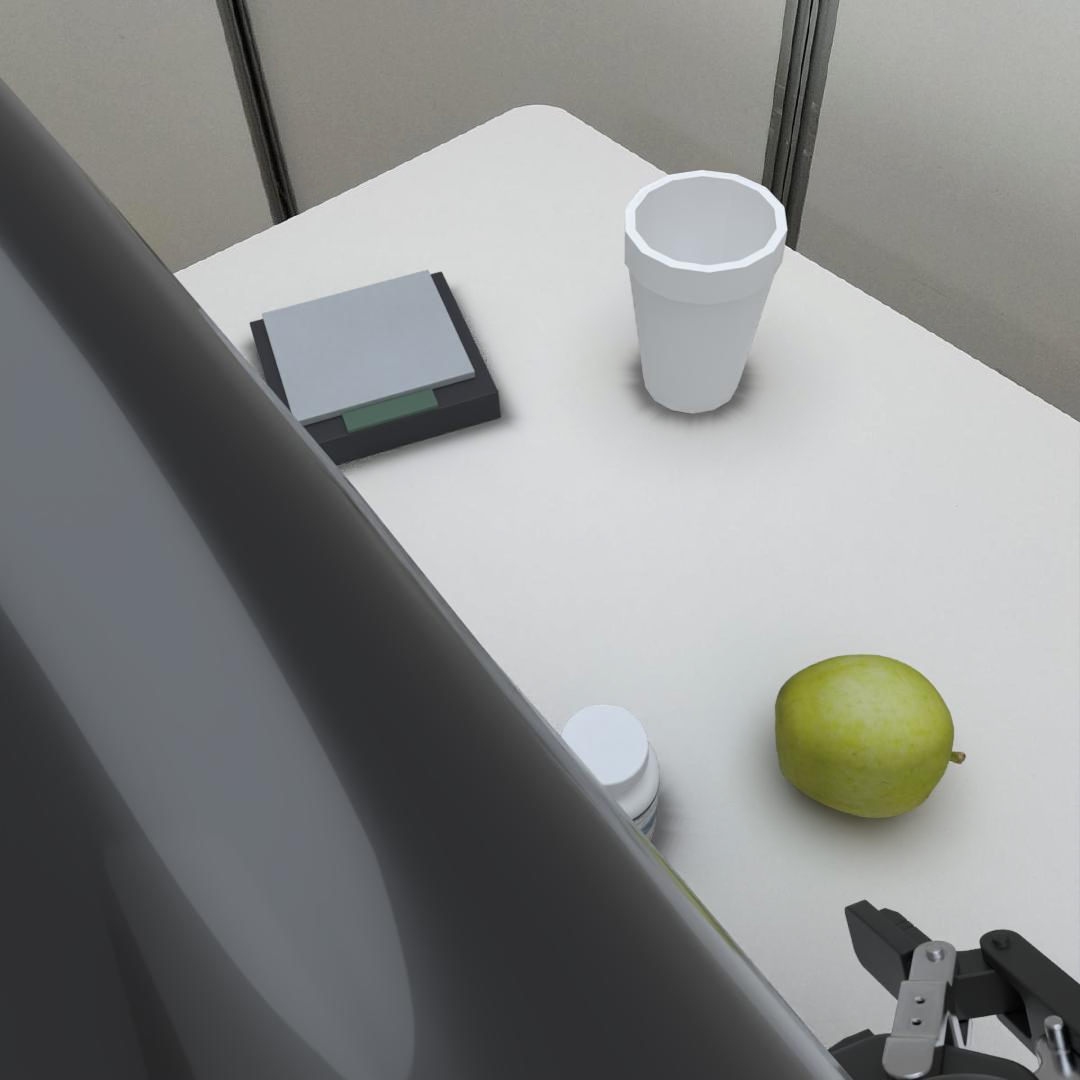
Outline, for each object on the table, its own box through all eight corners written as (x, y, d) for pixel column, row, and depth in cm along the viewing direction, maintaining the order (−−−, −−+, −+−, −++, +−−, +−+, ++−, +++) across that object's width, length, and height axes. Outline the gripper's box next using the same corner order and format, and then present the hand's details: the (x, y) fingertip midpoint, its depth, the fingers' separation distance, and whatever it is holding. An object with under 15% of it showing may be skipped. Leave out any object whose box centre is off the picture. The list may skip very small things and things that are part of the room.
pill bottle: (538, 790, 57) (528, 708, 50) (632, 759, 58) (636, 674, 51) (571, 885, 54) (566, 813, 47) (671, 852, 55) (680, 775, 48)
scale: (295, 477, 71) (284, 446, 68) (257, 347, 78) (246, 315, 76) (501, 417, 73) (498, 385, 71) (445, 296, 81) (440, 263, 78)
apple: (950, 852, 54) (996, 783, 48) (762, 833, 55) (783, 763, 49) (936, 711, 59) (976, 631, 52) (763, 696, 60) (782, 615, 53)
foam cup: (606, 416, 73) (606, 258, 62) (636, 323, 78) (642, 162, 67) (750, 441, 71) (775, 282, 60) (771, 343, 76) (798, 181, 66)
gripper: (1356, 1077, 21) (908, 797, 37) (670, 1390, 19) (505, 947, 35) (1413, 1401, 22) (955, 995, 38) (774, 1735, 20) (569, 1154, 36)
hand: (741, 973), depth 36 cm, fingers open, 8 cm apart
